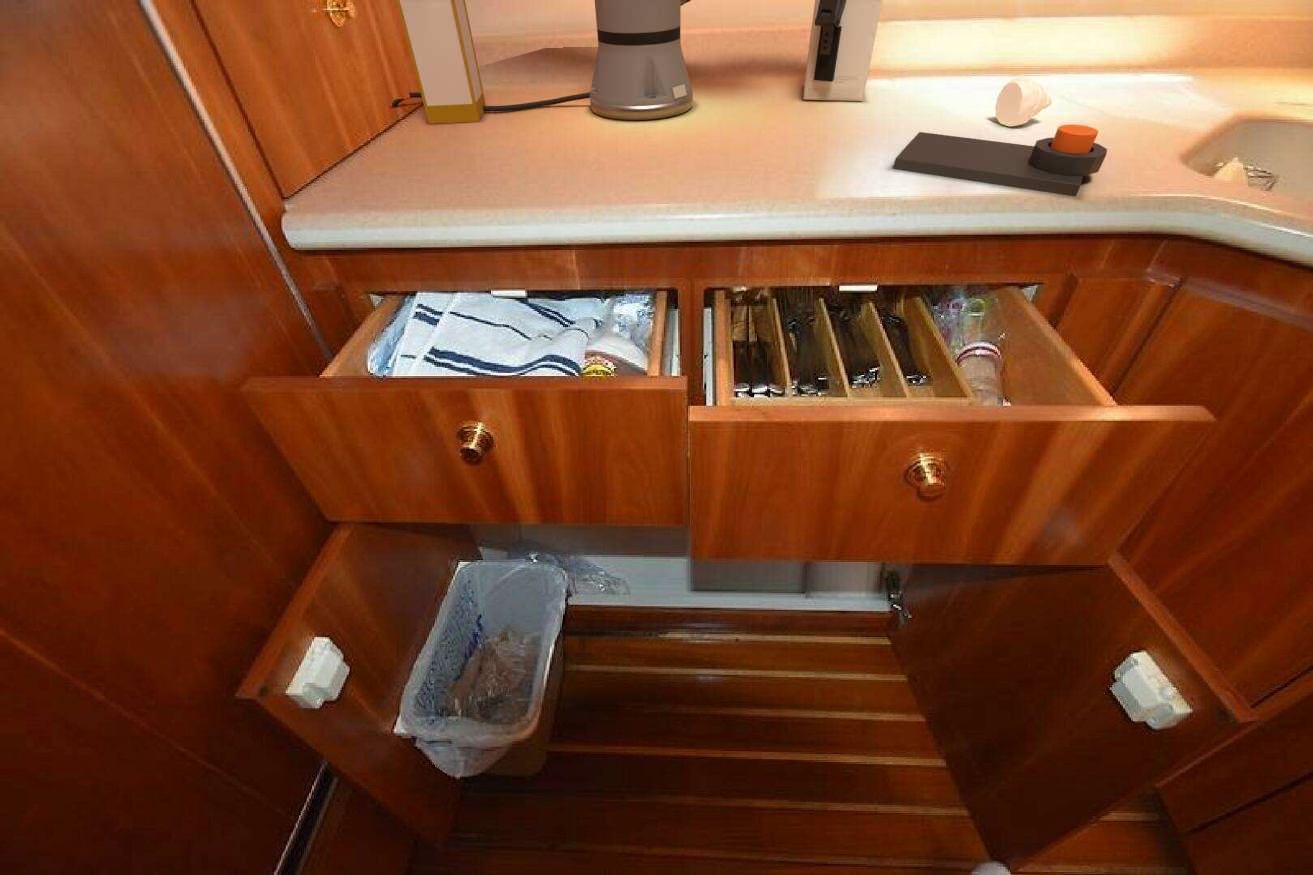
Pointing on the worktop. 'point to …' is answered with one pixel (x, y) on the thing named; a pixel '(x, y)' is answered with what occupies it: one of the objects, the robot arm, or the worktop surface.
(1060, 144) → the switch
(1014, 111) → the garlic bulb
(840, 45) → the rectangular carton
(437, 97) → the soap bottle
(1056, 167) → the base
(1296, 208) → the worktop surface
